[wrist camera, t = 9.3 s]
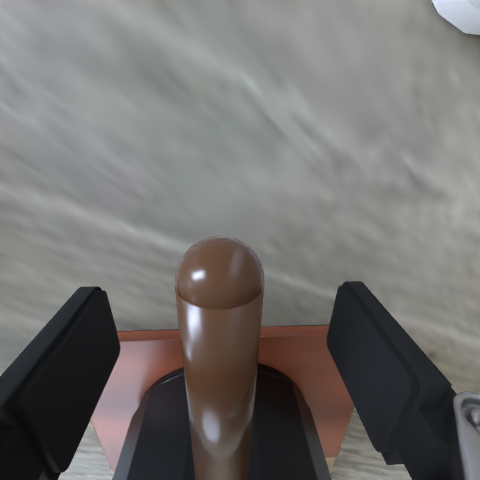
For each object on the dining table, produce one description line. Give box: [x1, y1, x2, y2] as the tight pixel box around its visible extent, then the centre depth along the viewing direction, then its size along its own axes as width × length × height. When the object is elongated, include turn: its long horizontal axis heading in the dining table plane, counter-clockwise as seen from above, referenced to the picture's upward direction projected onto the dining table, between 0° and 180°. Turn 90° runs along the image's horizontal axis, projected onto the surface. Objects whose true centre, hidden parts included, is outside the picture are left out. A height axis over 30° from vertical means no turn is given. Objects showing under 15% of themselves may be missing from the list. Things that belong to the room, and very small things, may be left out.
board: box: [91, 325, 355, 475], centre depth 21 cm, size 29×19×1 cm, turn 179°
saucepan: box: [112, 236, 332, 480], centre depth 12 cm, size 23×12×7 cm, turn 179°
